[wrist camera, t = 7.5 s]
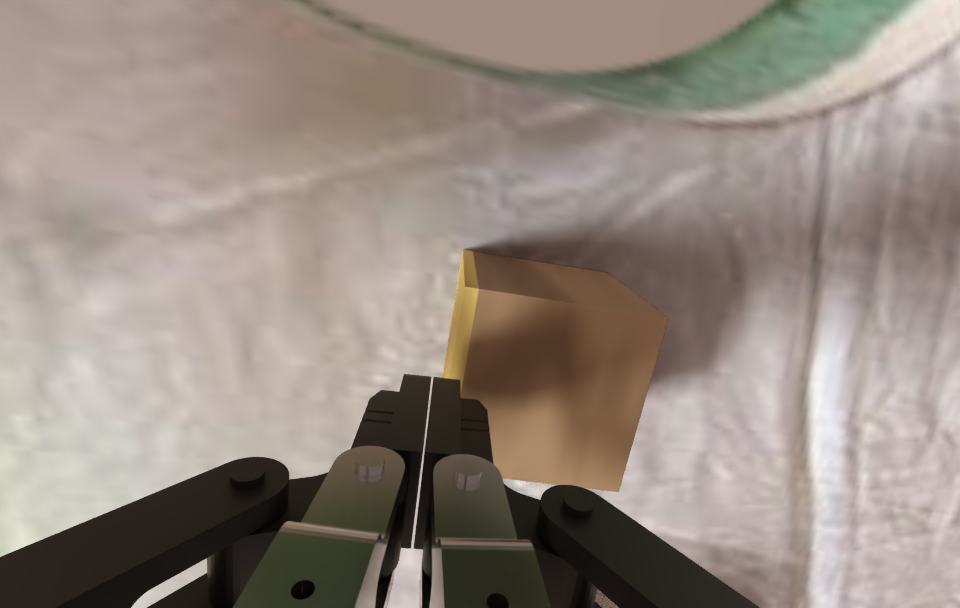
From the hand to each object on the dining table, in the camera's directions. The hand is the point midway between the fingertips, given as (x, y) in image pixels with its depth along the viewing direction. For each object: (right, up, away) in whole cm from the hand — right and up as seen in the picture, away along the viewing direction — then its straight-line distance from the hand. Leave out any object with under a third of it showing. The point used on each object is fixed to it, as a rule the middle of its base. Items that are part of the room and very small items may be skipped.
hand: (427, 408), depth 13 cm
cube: (0, +1, +4) cm, 5 cm away
